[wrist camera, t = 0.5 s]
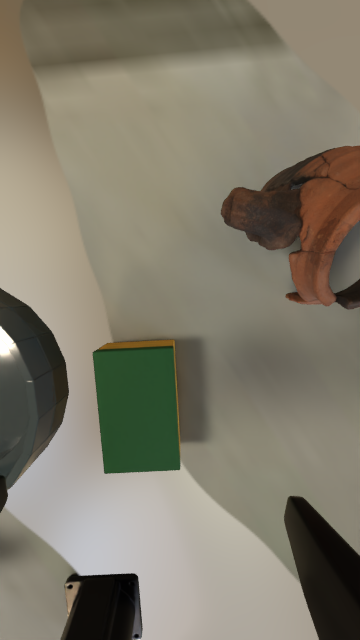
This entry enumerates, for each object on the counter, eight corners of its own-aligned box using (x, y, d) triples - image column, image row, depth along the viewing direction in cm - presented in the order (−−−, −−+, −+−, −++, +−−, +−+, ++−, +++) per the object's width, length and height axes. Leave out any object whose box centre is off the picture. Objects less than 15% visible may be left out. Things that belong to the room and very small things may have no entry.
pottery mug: (356, 161, 17) (512, 155, 10) (305, 277, 22) (387, 324, 15) (209, 134, 14) (295, 99, 7) (189, 276, 19) (229, 333, 12)
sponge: (180, 443, 19) (180, 470, 16) (116, 446, 19) (104, 474, 16) (174, 339, 18) (173, 347, 15) (106, 342, 18) (92, 352, 15)
